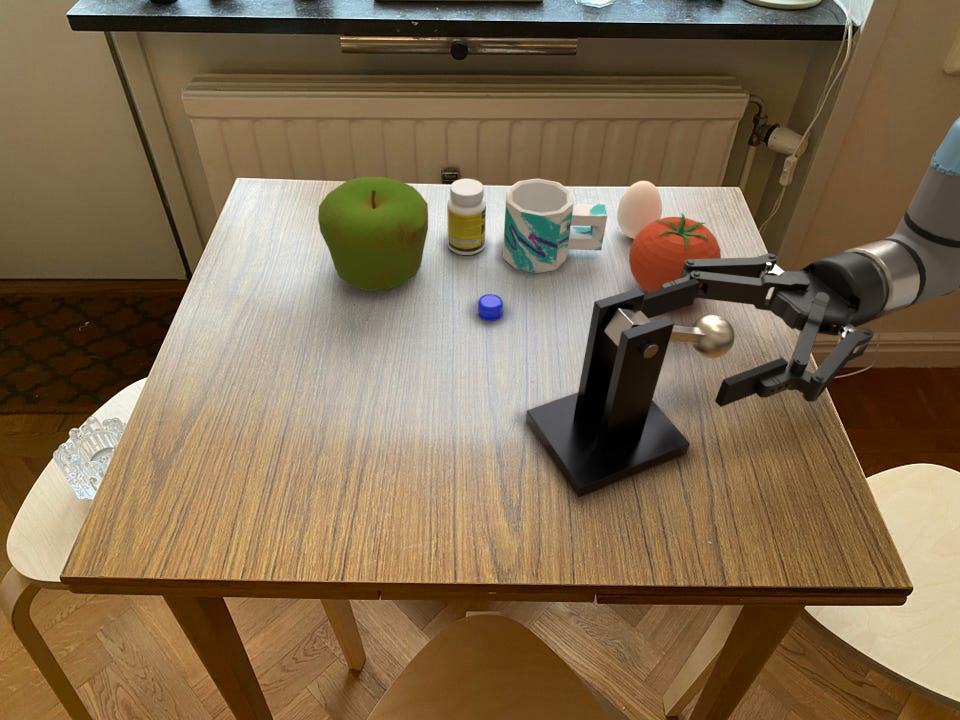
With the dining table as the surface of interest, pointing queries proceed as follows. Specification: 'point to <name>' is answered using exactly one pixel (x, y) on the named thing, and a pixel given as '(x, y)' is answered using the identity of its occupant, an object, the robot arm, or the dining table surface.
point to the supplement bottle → (466, 217)
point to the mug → (548, 225)
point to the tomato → (669, 250)
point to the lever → (681, 332)
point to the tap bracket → (612, 405)
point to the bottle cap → (490, 307)
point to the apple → (374, 231)
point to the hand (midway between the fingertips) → (677, 348)
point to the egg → (638, 208)
